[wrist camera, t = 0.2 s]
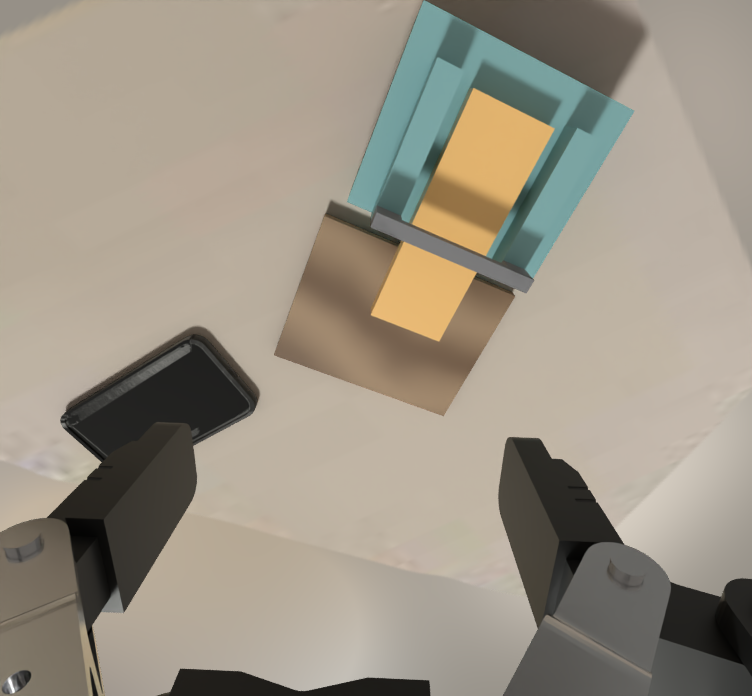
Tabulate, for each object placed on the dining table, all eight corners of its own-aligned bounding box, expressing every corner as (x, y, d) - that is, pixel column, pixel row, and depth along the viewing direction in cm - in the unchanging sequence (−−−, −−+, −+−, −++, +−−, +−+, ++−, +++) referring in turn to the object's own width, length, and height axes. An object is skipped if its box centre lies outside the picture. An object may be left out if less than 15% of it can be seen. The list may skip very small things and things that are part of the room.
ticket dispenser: (417, 14, 25) (431, -18, 19) (601, 109, 28) (673, 111, 21) (351, 190, 30) (342, 215, 23) (514, 261, 32) (550, 303, 25)
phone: (54, 420, 38) (194, 334, 34) (62, 411, 39) (200, 327, 35) (125, 483, 41) (261, 410, 37) (131, 474, 42) (264, 402, 38)
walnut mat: (325, 213, 30) (324, 215, 30) (512, 292, 33) (515, 296, 32) (275, 350, 35) (273, 355, 35) (442, 410, 38) (443, 416, 37)
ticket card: (469, 88, 24) (473, 87, 23) (547, 127, 24) (554, 128, 23) (371, 307, 29) (370, 315, 28) (437, 333, 30) (438, 341, 29)
